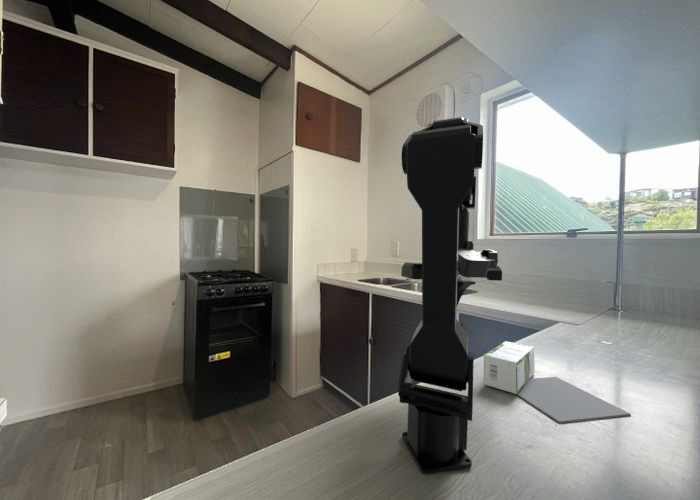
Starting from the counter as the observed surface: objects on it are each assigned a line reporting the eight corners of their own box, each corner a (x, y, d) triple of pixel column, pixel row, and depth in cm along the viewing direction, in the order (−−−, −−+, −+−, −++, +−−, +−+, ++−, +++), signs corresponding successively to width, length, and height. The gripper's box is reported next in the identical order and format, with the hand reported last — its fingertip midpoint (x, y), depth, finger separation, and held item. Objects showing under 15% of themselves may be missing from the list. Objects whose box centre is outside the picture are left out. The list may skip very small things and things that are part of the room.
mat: (559, 423, 42) (559, 421, 42) (497, 382, 55) (497, 380, 55) (630, 415, 45) (630, 413, 45) (555, 378, 57) (555, 376, 57)
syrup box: (483, 384, 53) (504, 365, 63) (518, 395, 49) (535, 372, 59) (483, 354, 53) (504, 340, 64) (518, 362, 49) (534, 345, 59)
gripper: (428, 231, 44) (424, 328, 44) (527, 236, 48) (524, 326, 48) (401, 234, 55) (398, 312, 55) (484, 238, 59) (481, 311, 59)
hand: (449, 315), depth 54 cm, fingers closed
